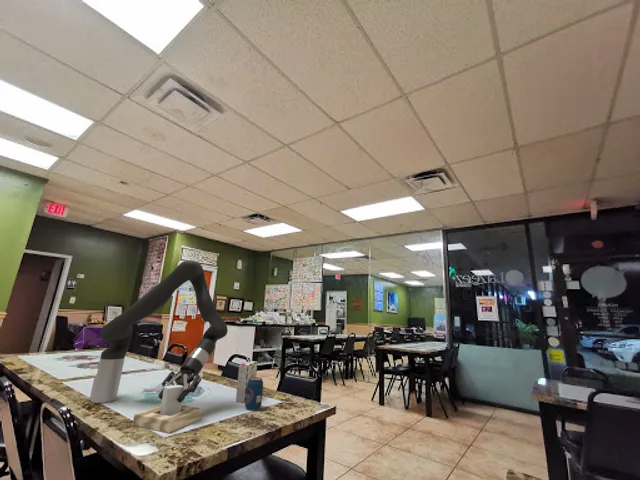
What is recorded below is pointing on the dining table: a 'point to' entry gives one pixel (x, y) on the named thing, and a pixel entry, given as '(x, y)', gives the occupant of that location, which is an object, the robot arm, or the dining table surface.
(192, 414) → the socket block
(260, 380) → the soda can
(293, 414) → the dining table surface
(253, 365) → the candy bar box
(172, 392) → the skincare box
